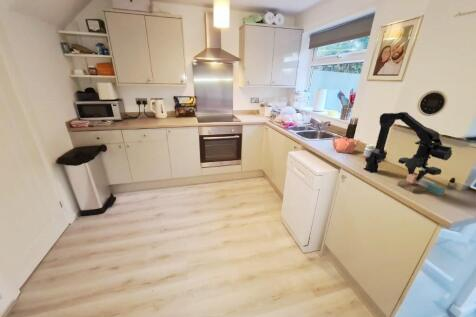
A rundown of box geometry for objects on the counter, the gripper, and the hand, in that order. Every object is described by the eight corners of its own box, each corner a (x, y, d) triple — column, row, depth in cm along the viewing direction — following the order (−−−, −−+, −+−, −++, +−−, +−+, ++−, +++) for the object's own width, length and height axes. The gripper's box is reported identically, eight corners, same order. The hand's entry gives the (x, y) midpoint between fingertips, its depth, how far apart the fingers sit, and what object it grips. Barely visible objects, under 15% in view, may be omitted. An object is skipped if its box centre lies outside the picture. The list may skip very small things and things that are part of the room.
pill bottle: (368, 157, 166) (371, 144, 162) (372, 160, 160) (376, 146, 156) (360, 157, 166) (364, 144, 162) (365, 159, 160) (368, 146, 156)
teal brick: (426, 190, 116) (429, 184, 114) (430, 189, 117) (433, 183, 115) (438, 195, 110) (441, 189, 109) (443, 194, 111) (446, 188, 110)
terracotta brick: (412, 183, 113) (414, 176, 112) (405, 180, 117) (408, 174, 115) (419, 182, 115) (422, 175, 114) (413, 179, 118) (415, 173, 117)
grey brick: (417, 185, 122) (420, 179, 120) (422, 184, 122) (424, 178, 121) (429, 189, 116) (431, 183, 115) (433, 189, 117) (435, 183, 116)
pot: (339, 147, 191) (342, 134, 187) (358, 152, 178) (361, 138, 173) (327, 150, 182) (330, 136, 177) (346, 155, 168) (349, 141, 164)
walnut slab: (396, 185, 120) (398, 181, 119) (408, 184, 123) (409, 180, 122) (412, 193, 112) (413, 188, 111) (424, 191, 114) (425, 187, 113)
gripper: (395, 149, 116) (387, 173, 122) (432, 161, 99) (420, 188, 105) (409, 148, 119) (401, 172, 124) (447, 159, 102) (435, 186, 108)
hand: (413, 179), depth 115 cm, fingers closed on terracotta brick, 3 cm apart
